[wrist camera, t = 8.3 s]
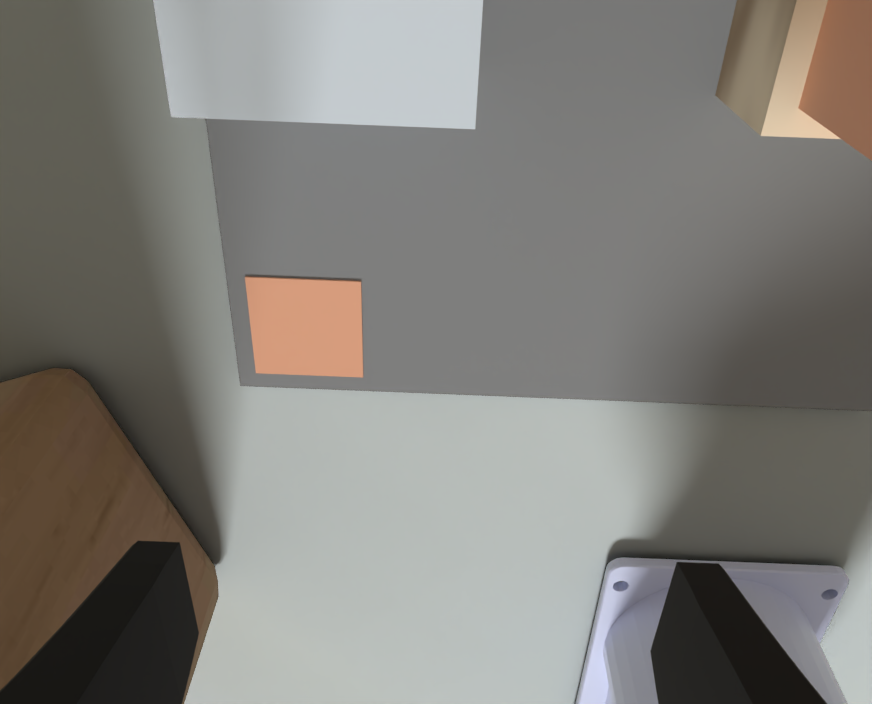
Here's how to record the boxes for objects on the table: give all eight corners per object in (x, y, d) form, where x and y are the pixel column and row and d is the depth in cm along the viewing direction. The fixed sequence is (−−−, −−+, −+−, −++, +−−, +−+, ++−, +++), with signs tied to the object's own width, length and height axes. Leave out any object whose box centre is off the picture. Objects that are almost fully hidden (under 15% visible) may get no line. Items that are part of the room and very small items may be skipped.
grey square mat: (867, 402, 22) (875, 412, 22) (243, 377, 22) (239, 387, 22) (1180, -336, 13) (1202, -342, 13) (148, -378, 13) (139, -385, 13)
